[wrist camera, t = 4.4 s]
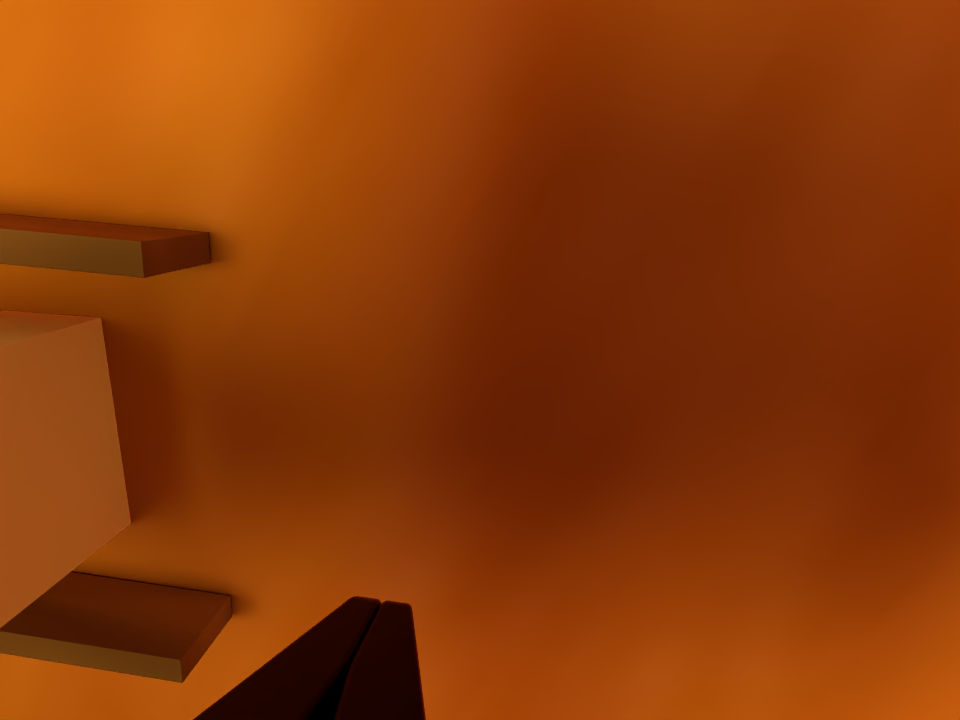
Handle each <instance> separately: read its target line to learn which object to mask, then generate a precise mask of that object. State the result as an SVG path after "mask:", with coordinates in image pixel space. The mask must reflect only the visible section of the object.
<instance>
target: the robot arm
mask: <svg viewBox="0 0 960 720" xmlns="http://www.w3.org/2000/svg"><path fill="white" fill-rule="evenodd" d="M193 720H426V718H425V709H424V701H423V693H422V685H421V677H420V669H419V661H418V653H417V645H416V637H415V628H414V620H413V612H412V607H411V605H409V604H407V603H400V602H394V601H385V602H383V603H381V602H380V600H378V599H373V598H366V597H359V596H354V597H352V598H350V599H348V600H347V601H346V602H345V603H343V604H342V605H341V606H339V607H338V608H337V609H336V610H334V611H333V612H332V613H330V614H329V615H328V616H326V617H325V618H324V619H323V620H321V621H320V622H319V623H317V624H316V625H315V626H314V627H312V628H311V629H310V630H308V631H307V632H306V633H304V634H303V635H302V636H301V637H299V638H298V639H297V640H295V641H294V642H293V643H292V644H290V645H289V646H288V647H286V648H285V649H284V650H282V651H281V652H280V653H279V654H277V655H276V656H275V657H273V658H272V659H271V660H270V661H268V662H267V663H266V664H264V665H263V666H262V667H260V668H259V669H258V670H257V671H255V672H254V673H253V674H251V675H250V676H249V677H248V678H246V679H245V680H244V681H242V682H241V683H240V684H238V685H237V686H236V687H235V688H233V689H232V690H231V691H229V692H228V693H227V694H226V695H224V696H223V697H222V698H220V699H219V700H218V701H216V702H215V703H214V704H213V705H211V706H210V707H209V708H207V709H206V710H205V711H204V712H202V713H201V714H200V715H198V716H197V717H196V718H194V719H193Z"/></svg>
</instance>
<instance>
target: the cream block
mask: <svg viewBox="0 0 960 720" xmlns="http://www.w3.org/2000/svg"><path fill="white" fill-rule="evenodd" d="M130 524H131V519H130V512H129V506H128V499H127V492H126V485H125V478H124V471H123V465H122V458H121V451H120V444H119V437H118V431H117V424H116V417H115V410H114V403H113V396H112V390H111V383H110V376H109V369H108V362H107V356H106V349H105V342H104V335H103V328H102V321H101V318H100V317H86V316H73V315H59V314H46V313H33V312H19V311H6V310H0V628H1V627H2V626H4V625H5V624H6V623H7V622H9V621H10V620H11V619H12V618H14V617H15V616H16V615H17V614H19V613H20V612H21V611H22V610H24V609H25V608H26V607H27V606H29V605H30V604H31V603H32V602H34V601H35V600H36V599H37V598H39V597H40V596H41V595H42V594H44V593H45V592H46V591H47V590H49V589H50V588H51V587H52V586H54V585H55V584H56V583H57V582H59V581H60V580H61V579H62V578H64V577H65V576H66V575H67V574H69V573H70V572H71V571H72V570H74V569H75V568H76V567H77V566H79V565H80V564H81V563H82V562H84V561H85V560H86V559H87V558H89V557H90V556H91V555H92V554H94V553H95V552H96V551H97V550H99V549H100V548H101V547H102V546H104V545H105V544H106V543H107V542H109V541H110V540H111V539H112V538H114V537H115V536H116V535H117V534H119V533H120V532H121V531H122V530H124V529H125V528H126V527H127V526H129V525H130Z"/></svg>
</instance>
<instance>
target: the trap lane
mask: <svg viewBox="0 0 960 720" xmlns="http://www.w3.org/2000/svg"><path fill="white" fill-rule="evenodd" d="M208 263H210V248H209V232H197V231H186V230H175V229H164V228H153V227H142V226H131V225H120V224H108V223H97V222H86V221H75V220H64V219H53V218H42V217H31V216H19V215H8V214H0V264H10V265H20V266H30V267H40V268H50V269H60V270H71V271H81V272H91V273H101V274H111V275H121V276H132V277H142V278H145V277H150V276H154V275H159V274H163V273H167V272H172V271H176V270H181V269H185V268H190V267H194V266H199V265H203V264H208ZM231 617H232V611H231V596H228V595H221V594H215V593H208V592H201V591H194V590H188V589H181V588H174V587H167V586H161V585H154V584H147V583H141V582H134V581H127V580H120V579H114V578H107V577H100V576H94V575H87V574H80V573H73V572H70V573H69V574H67V575H66V576H65V577H64V578H62V579H61V580H60V581H59V582H57V583H56V584H55V585H54V586H52V587H51V588H50V589H49V590H47V591H46V592H45V593H44V594H42V595H41V596H40V597H39V598H37V599H36V600H35V601H34V602H32V603H31V604H30V605H29V606H27V607H26V608H25V609H24V610H22V611H21V612H20V613H19V614H17V615H16V616H15V617H14V618H12V619H11V620H10V621H9V622H7V623H6V624H5V625H4V626H2V627H1V628H0V653H3V654H9V655H16V656H22V657H28V658H34V659H40V660H46V661H52V662H58V663H64V664H70V665H76V666H83V667H89V668H95V669H101V670H107V671H113V672H119V673H125V674H131V675H137V676H143V677H149V678H156V679H162V680H168V681H174V682H180V683H183V681H184V680H185V679H186V677H187V676H188V675H189V673H190V672H191V671H192V669H193V668H194V667H195V665H196V664H197V663H198V661H199V660H200V659H201V657H202V656H203V655H204V653H205V652H206V651H207V649H208V648H209V646H210V645H211V644H212V642H213V641H214V640H215V638H216V637H217V636H218V634H219V633H220V632H221V630H222V629H223V628H224V626H225V625H226V624H227V622H228V621H229V620H230V618H231Z"/></svg>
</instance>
